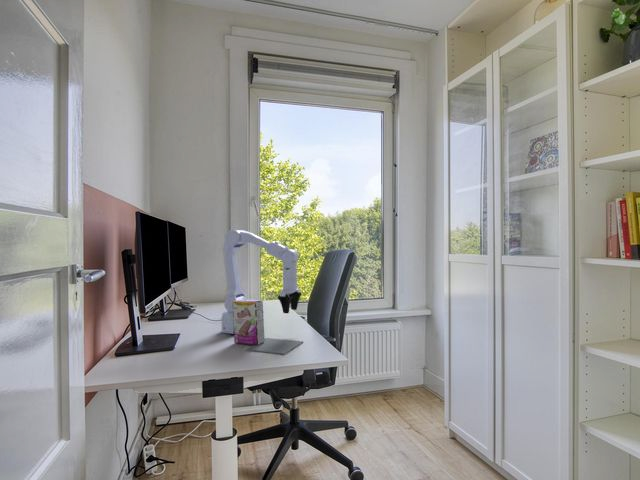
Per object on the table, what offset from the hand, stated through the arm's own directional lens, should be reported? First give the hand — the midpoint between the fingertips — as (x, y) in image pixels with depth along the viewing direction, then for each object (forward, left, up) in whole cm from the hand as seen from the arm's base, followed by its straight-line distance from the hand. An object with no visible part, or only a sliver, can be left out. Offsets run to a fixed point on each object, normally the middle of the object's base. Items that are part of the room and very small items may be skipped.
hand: (290, 311), depth 155 cm
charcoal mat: (+1, -16, -10) cm, 19 cm away
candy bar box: (-10, -16, -10) cm, 21 cm away
